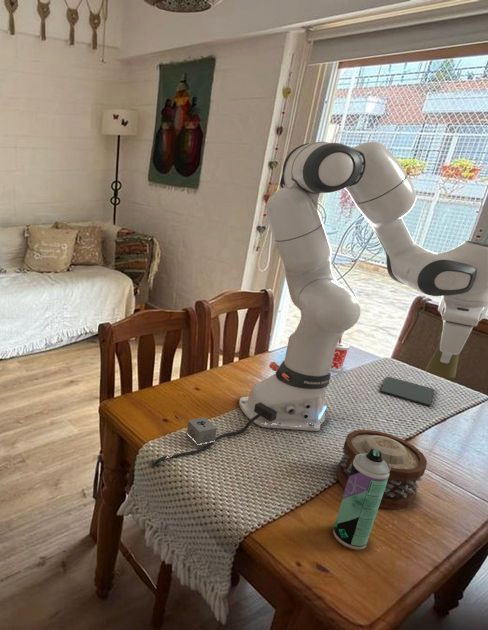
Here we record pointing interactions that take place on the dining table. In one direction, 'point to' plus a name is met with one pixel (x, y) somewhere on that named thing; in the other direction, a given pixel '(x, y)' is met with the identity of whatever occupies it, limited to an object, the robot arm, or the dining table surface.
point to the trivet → (408, 391)
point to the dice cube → (201, 431)
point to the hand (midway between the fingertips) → (444, 358)
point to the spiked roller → (400, 458)
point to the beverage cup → (339, 355)
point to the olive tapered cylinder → (442, 364)
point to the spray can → (361, 499)
